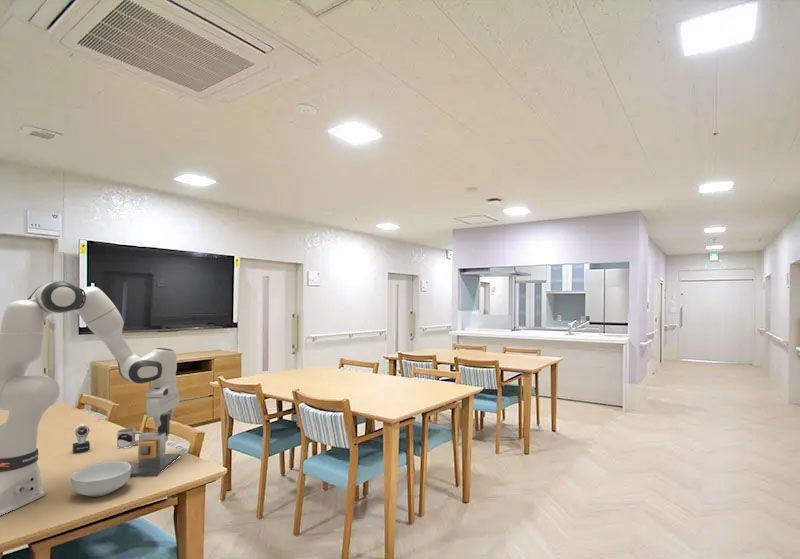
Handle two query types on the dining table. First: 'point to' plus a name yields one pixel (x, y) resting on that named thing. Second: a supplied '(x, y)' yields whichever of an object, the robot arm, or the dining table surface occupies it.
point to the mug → (127, 437)
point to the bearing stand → (153, 464)
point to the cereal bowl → (100, 478)
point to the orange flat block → (152, 451)
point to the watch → (81, 439)
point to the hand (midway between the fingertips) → (163, 423)
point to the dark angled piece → (163, 428)
